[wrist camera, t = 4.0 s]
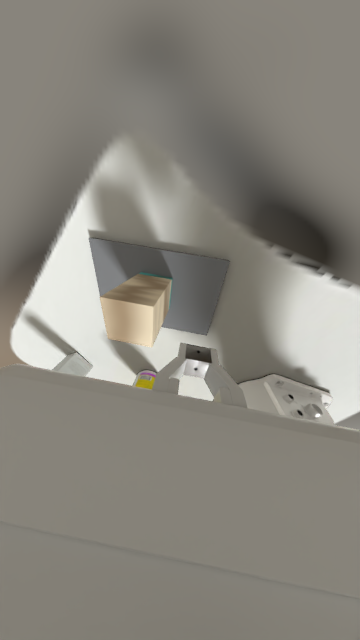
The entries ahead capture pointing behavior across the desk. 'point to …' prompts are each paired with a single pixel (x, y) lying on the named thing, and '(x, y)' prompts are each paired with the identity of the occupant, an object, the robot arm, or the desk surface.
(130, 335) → the birch block
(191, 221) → the desk surface
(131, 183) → the desk surface
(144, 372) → the supplement bottle
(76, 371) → the skincare box
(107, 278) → the rubber mat
